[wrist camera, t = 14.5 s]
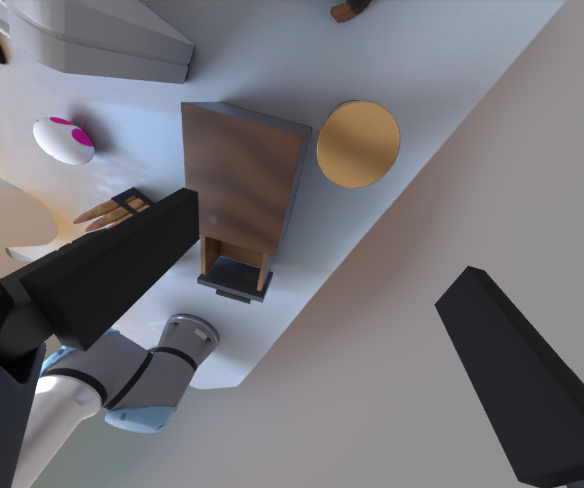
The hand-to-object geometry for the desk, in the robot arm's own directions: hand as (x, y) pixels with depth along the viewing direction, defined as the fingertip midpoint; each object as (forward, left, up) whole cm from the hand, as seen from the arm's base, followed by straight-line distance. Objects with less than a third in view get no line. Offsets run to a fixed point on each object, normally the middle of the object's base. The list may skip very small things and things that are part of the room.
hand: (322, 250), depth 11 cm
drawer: (-23, +5, -25) cm, 34 cm away
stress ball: (-19, +38, -26) cm, 49 cm away
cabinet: (-9, +9, -25) cm, 28 cm away
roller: (+4, 0, -25) cm, 26 cm away
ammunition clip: (-26, +24, -26) cm, 43 cm away
